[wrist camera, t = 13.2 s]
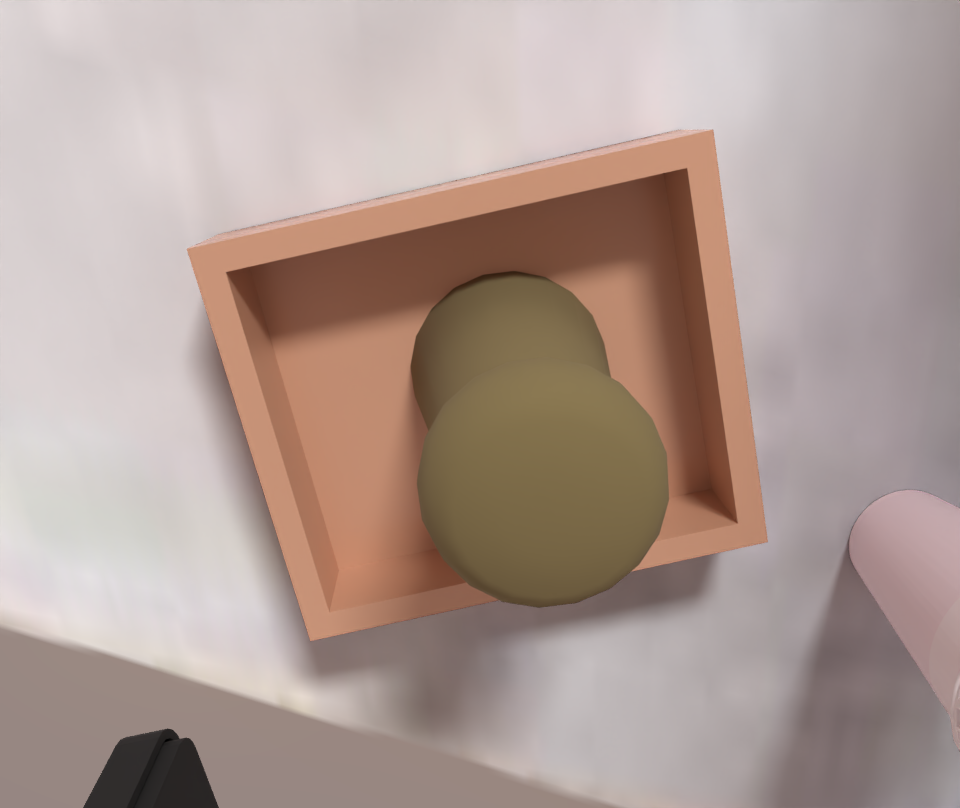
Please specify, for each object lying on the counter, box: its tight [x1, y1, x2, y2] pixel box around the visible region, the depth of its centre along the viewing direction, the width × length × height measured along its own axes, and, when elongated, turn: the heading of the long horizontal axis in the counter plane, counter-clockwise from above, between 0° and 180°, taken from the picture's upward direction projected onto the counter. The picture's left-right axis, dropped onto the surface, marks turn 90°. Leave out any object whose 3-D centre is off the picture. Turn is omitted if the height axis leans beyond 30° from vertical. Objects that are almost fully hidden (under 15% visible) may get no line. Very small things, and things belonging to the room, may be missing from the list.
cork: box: [410, 271, 669, 607], centre depth 22 cm, size 6×6×11 cm
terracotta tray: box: [187, 130, 768, 641], centre depth 27 cm, size 14×12×4 cm
